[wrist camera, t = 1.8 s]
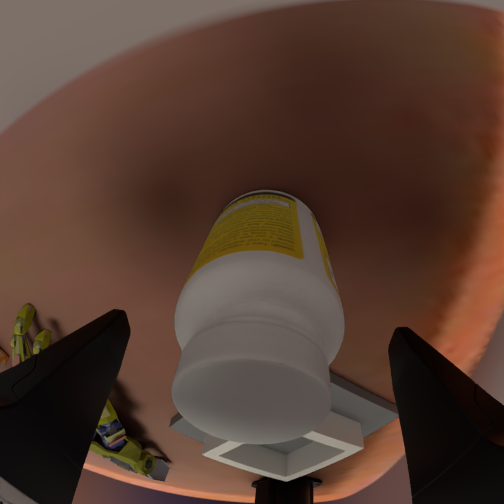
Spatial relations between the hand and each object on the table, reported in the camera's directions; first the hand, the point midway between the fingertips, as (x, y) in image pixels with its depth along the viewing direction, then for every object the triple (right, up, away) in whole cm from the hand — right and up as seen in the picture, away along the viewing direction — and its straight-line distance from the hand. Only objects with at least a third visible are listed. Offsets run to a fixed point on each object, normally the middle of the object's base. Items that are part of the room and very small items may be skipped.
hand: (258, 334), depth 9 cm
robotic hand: (-16, -13, +16) cm, 26 cm away
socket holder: (+2, -11, +13) cm, 18 cm away
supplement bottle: (+1, +3, +6) cm, 7 cm away
